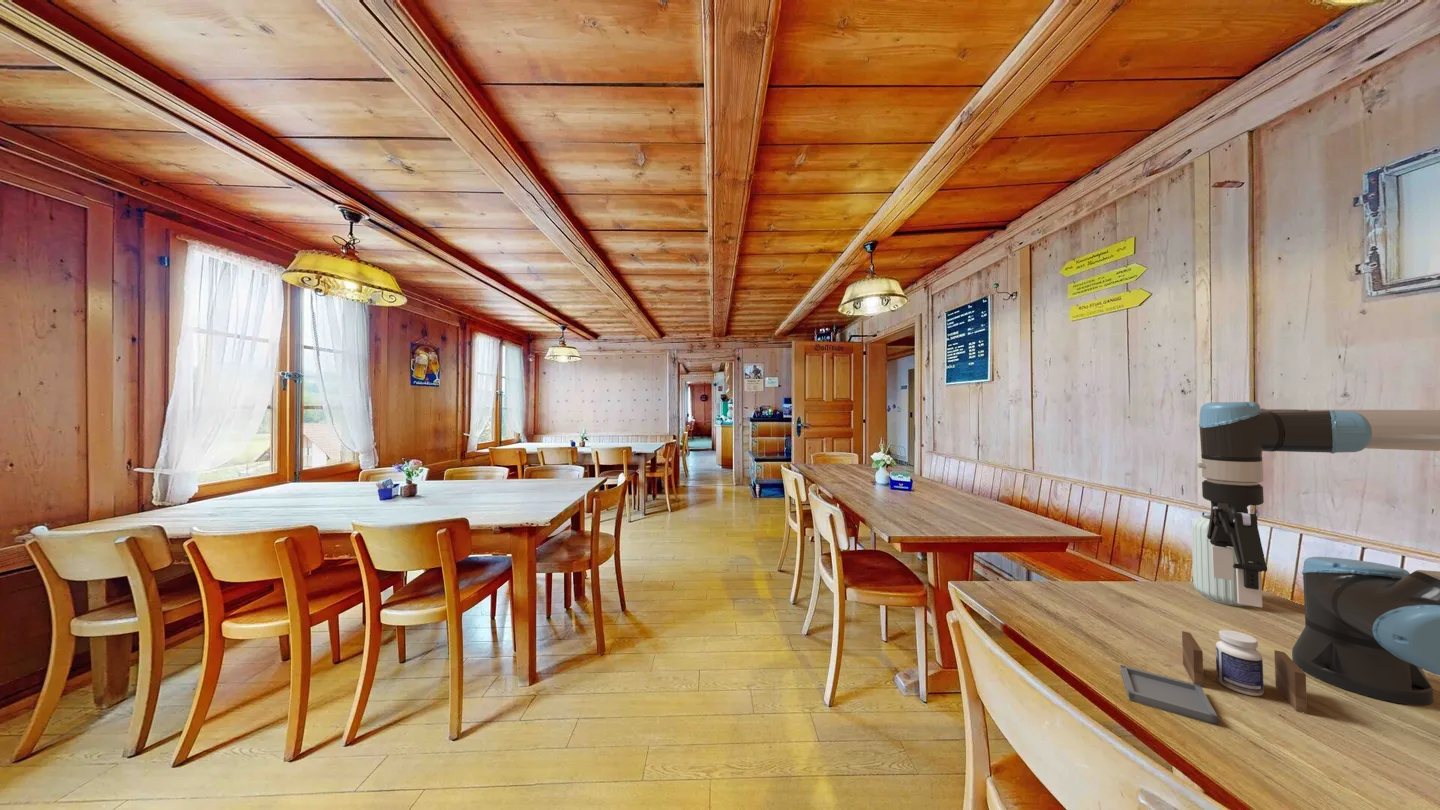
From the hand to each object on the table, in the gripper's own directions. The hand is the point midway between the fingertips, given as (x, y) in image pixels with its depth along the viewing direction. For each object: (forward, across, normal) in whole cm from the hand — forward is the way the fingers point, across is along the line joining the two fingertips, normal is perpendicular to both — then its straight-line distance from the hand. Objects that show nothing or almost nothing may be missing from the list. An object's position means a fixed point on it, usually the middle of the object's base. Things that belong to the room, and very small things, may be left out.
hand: (1235, 591), depth 81 cm
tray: (+18, +12, -12) cm, 25 cm away
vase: (+19, -50, +10) cm, 54 cm away
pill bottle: (+19, 0, 0) cm, 19 cm away
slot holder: (+18, 0, 0) cm, 18 cm away
